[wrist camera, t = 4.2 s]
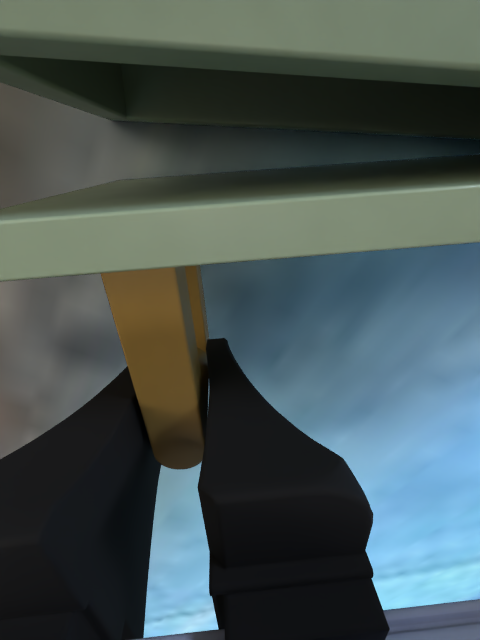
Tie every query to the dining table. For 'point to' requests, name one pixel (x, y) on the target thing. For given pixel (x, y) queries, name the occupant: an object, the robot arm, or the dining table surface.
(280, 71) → the cabinet
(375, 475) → the dining table surface
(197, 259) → the door
